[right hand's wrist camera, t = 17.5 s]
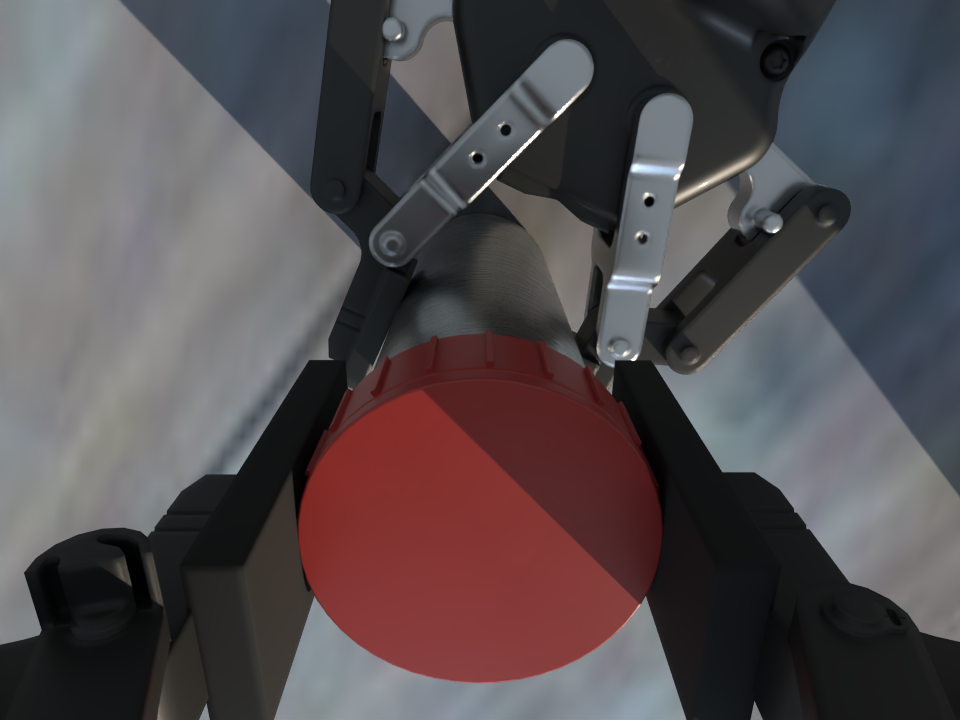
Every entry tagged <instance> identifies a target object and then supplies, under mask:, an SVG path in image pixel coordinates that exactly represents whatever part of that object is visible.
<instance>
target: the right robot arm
mask: <svg viewBox="0 0 960 720" xmlns="http://www.w3.org/2000/svg"><path fill="white" fill-rule="evenodd" d="M347 389H348V385H347V372H346V360H309V361H308V363H307V365H306V366H305V368H304V369H303V371H302V372H301V374H300V376H299V377H298V379H297V380H296V382H295V383H294V385H293V387H292V388H291V390H290V391H289V393H288V395H287V396H286V398H285V399H284V401H283V402H282V404H281V406H280V407H279V409H278V410H277V412H276V413H275V415H274V417H273V418H272V420H271V421H270V423H269V425H268V426H267V428H266V429H265V431H264V432H263V434H262V436H261V437H260V439H259V440H258V442H257V443H256V445H255V447H254V448H253V450H252V451H251V453H250V455H249V456H248V458H247V459H246V461H245V462H244V464H243V466H242V467H241V469H240V470H239V472H238V473H237V475H205V476H203V477H202V478H200V479H199V480H198V481H196V482H195V483H193V484H192V485H190V486H189V487H187V488H186V489H184V490H183V491H181V493H180V494H179V495H178V497H177V498H176V500H175V501H174V502H173V504H172V505H171V506H170V508H169V509H168V510H167V515H164V516H163V517H162V518H161V520H160V521H159V522H158V524H157V525H156V526H155V531H154V532H151V533H150V534H149V536H148V537H146V536H145V535H144V534H143V533H142V532H140V531H136V530H132V529H127V528H108V529H99V530H95V531H91V532H87V533H83V534H79V535H76V536H74V537H72V538H69V539H67V540H65V541H63V542H60V543H58V544H56V545H54V546H53V547H51V548H50V549H48V550H47V551H45V552H44V553H43V554H41V555H40V556H38V557H37V558H36V559H35V560H34V561H33V562H32V564H31V565H30V566H29V567H28V569H27V570H26V571H25V572H24V574H25V577H26V581H27V584H28V587H29V590H30V594H31V597H32V600H33V603H34V607H35V610H36V613H37V616H38V619H39V623H40V626H41V629H42V631H41V633H40V635H38V636H35V637H32V638H28V639H25V640H20V641H16V642H11V643H7V644H2V645H0V720H199V718H200V716H201V714H202V712H203V709H204V707H205V705H206V703H207V707H208V712H209V717H210V720H274V718H275V715H276V712H277V709H278V706H279V702H280V699H281V696H282V693H283V690H284V687H285V684H286V681H287V678H288V675H289V672H290V669H291V666H292V663H293V660H294V657H295V654H296V651H297V648H298V644H299V641H300V638H301V635H302V632H303V629H304V626H305V623H306V620H307V617H308V614H309V611H310V608H311V605H312V602H313V599H314V596H315V595H314V593H313V591H312V589H311V588H310V586H309V584H308V582H307V579H306V576H305V573H304V570H303V567H302V564H301V557H300V550H299V541H298V532H297V518H298V512H299V505H300V500H301V497H302V493H303V490H304V487H305V484H306V481H307V479H308V476H305V475H304V474H305V471H306V469H307V467H308V464H309V462H310V460H311V458H312V456H313V454H314V451H315V449H316V447H317V445H318V443H319V440H320V438H321V436H322V434H323V432H324V430H328V429H329V427H330V425H331V423H332V420H333V418H334V416H335V414H336V411H337V409H338V407H339V405H340V402H341V400H342V398H343V396H344V393H345V392H346V391H347ZM612 396H613V397H614V399H615V400H616V402H617V403H619V402H620V401H622V402H623V404H624V406H625V408H626V410H627V412H628V414H629V417H630V419H631V421H632V423H633V425H634V427H635V430H636V432H637V434H638V436H639V438H640V441H641V443H642V444H640V445H641V447H642V449H643V452H644V454H645V456H646V458H647V460H648V463H649V465H650V467H651V469H652V471H653V474H654V476H655V478H656V480H657V482H658V485H659V490H658V495H659V499H660V503H661V507H662V516H663V536H662V545H661V553H660V561H659V565H658V569H657V572H656V574H655V577H654V579H653V582H652V584H651V587H650V589H649V591H648V592H647V594H646V597H647V601H648V604H649V607H650V610H651V613H652V616H653V619H654V622H655V625H656V628H657V631H658V634H659V637H660V640H661V643H662V646H663V649H664V652H665V655H666V658H667V662H668V665H669V668H670V671H671V674H672V677H673V680H674V683H675V686H676V689H677V692H678V695H679V698H680V701H681V704H682V707H683V710H684V713H685V716H686V720H750V719H751V714H752V710H753V705H754V701H755V703H756V705H757V707H758V709H759V712H760V714H761V716H762V718H763V720H960V642H958V641H953V640H949V639H944V638H940V637H935V636H932V635H928V634H925V633H922V632H919V629H918V628H917V626H916V625H915V624H914V622H913V621H912V619H911V618H910V616H909V615H908V613H906V612H905V611H904V610H903V609H901V608H900V607H899V606H897V605H896V604H895V603H894V602H892V601H891V600H890V599H888V598H886V597H884V596H882V595H880V594H878V593H876V592H874V591H872V590H870V589H868V588H865V587H861V586H858V585H854V584H851V583H849V581H848V580H847V579H846V577H845V576H844V575H843V573H842V572H841V571H840V569H839V568H838V567H837V565H836V564H835V563H834V561H833V560H832V559H831V557H830V556H829V555H828V553H827V552H826V551H825V549H824V548H823V547H822V545H821V544H820V543H819V541H818V540H817V539H816V537H815V536H814V535H813V533H812V532H811V531H810V529H806V524H805V523H804V521H803V520H802V519H801V517H800V516H799V515H798V513H794V508H793V507H792V505H791V504H790V503H789V501H788V500H787V499H786V497H785V496H784V495H783V493H782V492H781V491H780V489H778V488H777V487H775V486H774V485H772V484H771V483H769V482H768V481H766V480H765V479H763V478H762V477H760V476H759V475H758V474H756V473H755V472H722V471H721V470H720V468H719V466H718V465H717V463H716V462H715V460H714V459H713V457H712V455H711V454H710V452H709V451H708V449H707V447H706V446H705V444H704V443H703V441H702V440H701V438H700V436H699V435H698V433H697V432H696V430H695V429H694V427H693V425H692V424H691V422H690V421H689V419H688V418H687V416H686V414H685V413H684V411H683V410H682V408H681V406H680V405H679V403H678V402H677V400H676V399H675V397H674V395H673V394H672V392H671V391H670V389H669V388H668V386H667V384H666V383H665V381H664V380H663V378H662V376H661V375H660V373H659V372H658V370H657V369H656V367H655V365H654V364H653V362H652V361H651V360H615V365H614V377H613V390H612ZM328 431H329V430H328Z"/></svg>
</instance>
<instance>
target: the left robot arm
mask: <svg viewBox="0 0 960 720" xmlns="http://www.w3.org/2000/svg"><path fill="white" fill-rule="evenodd" d="M835 2H836V0H331V5H330V14H329V23H328V32H327V41H326V50H325V59H324V68H323V77H322V86H321V95H320V104H319V113H318V122H317V131H316V140H315V149H314V158H313V167H312V176H311V187H310V188H311V194H312V197H313V199H314V201H315V202H316V204H317V205H318V206H319V207H320V208H322V209H323V210H325V211H327V212H329V213H334V214H335V215H337V216H338V217H339V218H340V219H341V220H342V221H343V222H344V223H345V224H346V225H347V226H348V227H349V228H350V229H351V230H352V231H353V232H354V233H355V234H356V236H357V237H358V239H359V242H360V245H361V250H362V255H361V261H360V264H359V266H358V269H357V271H356V274H355V276H354V278H353V281H352V283H351V286H350V288H349V291H348V293H347V295H346V298H345V300H344V303H343V305H342V308H341V310H340V312H339V315H338V317H337V320H336V322H335V325H334V327H333V329H332V332H331V334H330V337H329V339H328V341H329V358H331V359H334V360H346V372H347V385H348V387H349V388H352V389H354V388H355V387H356V386H357V385H358V384H359V383H360V382H361V381H362V380H363V379H364V377H366V376H367V375H368V374H369V373H370V371H371V369H372V366H373V364H374V362H375V360H376V357H377V355H378V353H379V351H380V348H381V346H382V344H383V342H384V339H385V337H386V335H387V333H388V330H389V328H390V326H391V323H392V321H393V318H394V316H395V314H396V311H397V309H398V308H399V306H400V303H401V301H402V299H403V297H404V294H405V292H406V290H407V288H408V285H409V283H410V281H411V278H412V276H413V273H414V270H415V267H416V265H417V262H418V260H416V259H414V258H413V257H414V256H415V255H416V254H417V253H418V252H419V251H420V250H421V249H422V248H423V247H424V246H425V245H426V244H427V243H428V242H429V241H430V240H431V239H432V238H433V237H434V236H435V235H436V234H437V233H438V232H439V231H440V230H441V229H442V228H443V227H444V226H445V225H446V224H447V223H448V222H449V221H450V220H451V219H452V218H453V217H454V216H455V215H456V214H458V213H459V212H461V211H462V210H463V209H464V208H466V207H467V206H468V205H469V204H470V203H471V202H472V201H473V200H474V199H475V198H476V197H477V196H478V195H479V194H480V193H481V192H482V191H483V190H484V189H485V188H486V187H487V186H488V185H489V184H490V183H491V182H492V181H493V180H494V179H495V178H496V177H497V180H498V181H500V182H502V183H504V184H506V185H508V186H510V187H512V188H515V189H517V190H519V191H521V192H523V193H525V194H530V195H536V196H541V197H547V198H552V199H556V200H558V201H559V202H561V203H562V204H563V205H564V206H565V207H566V208H567V209H568V210H570V211H571V212H572V213H573V214H574V215H575V216H576V217H577V218H579V219H580V220H581V221H583V222H585V223H587V224H589V225H591V226H593V227H594V231H593V238H592V247H591V256H592V266H591V274H590V280H589V287H588V294H587V301H586V308H585V314H584V322H583V323H582V325H581V327H580V329H579V331H578V332H577V333H575V332H573V331H572V333H573V336H574V338H575V341H576V344H577V346H578V349H579V351H580V354H581V357H582V359H583V362H584V365H585V367H586V366H587V365H588V366H589V367H591V368H592V370H593V373H594V375H595V378H597V379H598V380H599V381H600V382H601V383H602V384H603V385H604V387H605V388H606V389H607V390H609V388H610V387H611V385H612V383H613V377H614V365H615V360H651V361H652V362H653V364H656V365H668V366H670V368H671V369H672V370H673V371H675V372H677V373H679V374H685V375H688V374H693V373H696V372H698V371H700V370H701V369H703V368H704V367H705V366H706V365H707V364H708V363H709V362H710V361H711V360H712V359H713V358H714V357H715V356H716V355H717V354H718V353H719V352H720V351H721V350H722V349H723V348H724V347H725V346H726V345H727V344H728V343H729V342H730V341H731V340H732V339H733V338H734V337H735V336H736V335H737V334H738V333H739V332H740V331H741V330H742V329H743V328H744V327H745V326H746V325H747V324H748V323H749V322H750V321H751V320H752V319H753V318H754V317H755V316H756V315H757V314H758V313H759V312H760V311H761V310H762V309H763V308H764V307H765V306H766V305H767V304H768V303H769V302H770V301H771V300H772V299H773V298H774V297H775V296H776V295H777V294H778V293H779V292H780V291H781V290H782V289H783V288H784V287H785V286H786V285H787V284H788V283H789V282H790V281H791V280H792V279H793V278H794V277H795V276H796V275H797V273H798V272H799V271H800V270H801V269H802V268H803V267H804V266H805V265H806V264H807V263H808V262H809V261H810V260H811V259H812V258H813V257H814V256H815V255H816V254H817V253H818V252H819V251H820V250H821V249H822V248H823V247H824V246H825V245H826V244H827V243H828V242H829V241H830V240H831V239H832V238H833V237H834V236H835V235H836V234H837V233H838V232H839V231H840V230H841V229H842V228H843V227H844V226H845V224H846V223H847V221H848V219H849V216H850V211H851V206H850V202H849V199H848V198H847V196H846V195H845V194H844V193H842V192H841V191H839V190H836V189H832V188H829V187H827V186H825V185H823V184H819V183H815V182H814V181H813V180H812V179H811V178H809V177H808V176H807V175H806V174H805V173H804V172H803V171H802V170H801V169H800V168H799V167H798V166H797V165H796V164H795V163H794V162H793V161H792V160H791V159H790V158H789V157H788V156H787V155H785V154H784V153H783V152H782V151H781V150H780V149H779V148H778V147H777V146H776V145H775V144H774V143H773V140H774V137H775V134H776V130H777V121H778V109H779V103H780V99H781V94H782V91H783V88H784V85H785V83H786V81H787V79H788V77H789V75H790V73H791V72H792V70H793V69H794V67H795V66H796V64H797V63H798V62H799V60H800V59H801V57H802V56H803V54H804V53H805V51H806V50H807V48H808V47H809V45H810V44H811V42H812V41H813V39H814V37H815V36H816V34H817V32H818V31H819V29H820V27H821V26H822V24H823V22H824V20H825V19H826V17H827V15H828V14H829V12H830V10H831V9H832V7H833V5H834V4H835ZM444 21H451V22H453V23H454V28H455V34H456V39H457V45H458V50H459V55H460V61H461V66H462V72H463V77H464V83H465V88H466V94H467V99H468V104H469V110H470V115H471V121H472V122H471V123H470V124H469V125H468V127H467V128H466V129H465V130H464V131H463V132H462V133H461V134H460V135H459V136H458V137H457V138H456V139H455V140H454V141H453V142H452V143H451V144H450V145H449V146H448V147H447V148H446V150H445V151H444V152H443V153H442V154H441V155H440V156H439V157H438V158H437V159H436V160H435V161H434V162H433V163H432V164H431V166H430V167H429V168H428V169H427V170H426V171H425V172H424V173H423V174H422V175H421V176H420V177H419V178H418V179H417V180H416V181H415V182H414V184H413V185H412V186H411V187H410V188H409V189H408V190H407V191H406V192H405V193H404V194H403V195H402V196H401V197H400V198H399V197H398V196H397V195H396V194H395V193H394V192H393V191H392V190H391V189H390V188H389V187H388V186H387V185H386V184H385V183H384V182H383V181H382V180H381V179H380V178H379V177H378V176H377V175H376V174H375V171H376V164H377V157H378V150H379V143H380V137H381V130H382V123H383V116H384V109H385V102H386V95H387V88H388V82H389V75H390V68H391V61H392V60H395V61H406V60H409V59H411V58H413V57H414V56H415V55H416V54H417V53H418V52H419V51H420V49H421V47H422V44H423V41H424V38H425V36H426V34H427V32H428V31H429V30H430V29H431V28H432V27H433V26H434V25H436V24H437V23H440V22H444ZM737 175H738V176H739V180H740V186H739V191H738V193H737V195H736V197H735V199H734V200H733V201H732V203H731V205H730V207H729V210H728V222H729V225H730V227H731V228H730V229H729V230H728V232H727V233H726V234H725V235H724V236H723V237H722V238H721V239H720V240H719V241H718V242H717V243H716V244H715V245H714V247H713V248H712V249H711V250H710V251H709V252H708V253H707V254H706V255H705V256H704V257H703V258H702V259H701V260H700V262H699V263H698V264H697V265H696V266H695V267H694V268H693V269H692V270H691V271H690V272H689V273H688V274H687V275H686V277H685V278H684V279H683V280H682V281H681V282H680V283H679V284H678V285H677V286H676V287H675V288H674V289H673V290H672V292H671V293H670V294H669V295H668V296H667V297H666V298H665V299H664V300H663V301H662V302H661V303H660V304H659V305H658V307H657V308H649V306H650V301H651V295H652V291H653V289H654V287H655V286H657V284H658V282H659V280H660V277H661V272H662V267H663V262H664V256H665V251H666V246H667V240H668V235H669V230H670V224H671V219H672V214H673V209H675V208H677V207H678V206H680V205H682V204H684V203H686V202H688V201H690V200H692V199H694V198H695V197H697V196H699V195H701V194H703V193H705V192H707V191H709V190H711V189H712V188H714V187H716V186H718V185H720V184H722V183H724V182H726V181H728V180H729V179H731V178H733V177H735V176H737ZM641 234H643V238H642V239H641V237H640V235H641Z"/></svg>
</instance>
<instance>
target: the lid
mask: <svg viewBox="0 0 960 720" xmlns="http://www.w3.org/2000/svg"><path fill="white" fill-rule="evenodd" d="M328 430H329V431H328ZM328 430H324V432H323V434H322V436H321V438H320V440H319V443H318V445H317V447H316V449H315V451H314V454H313V456H312V458H311V460H310V462H309V464H308V467H307V469H306V471H305V474H304V475H305V476H308V479H307V481H306V484H305V487H304V490H303V493H302V497H301V500H300V505H299V512H298V518H297V532H298V541H299V550H300V557H301V564H302V567H303V570H304V573H305V576H306V579H307V582H308V584H309V586H310V588H311V589H312V591H313V593H314V595H315V597H316V599H317V601H318V602H319V604H320V605H321V606H322V608H323V609H324V611H325V612H326V614H327V615H328V616H329V617H330V618H331V619H332V621H333V622H334V623H335V624H336V625H337V626H338V627H339V628H340V629H341V630H342V631H343V632H344V633H345V634H346V635H347V636H349V637H350V638H351V639H352V640H353V641H354V642H356V643H357V644H358V645H360V646H361V647H363V648H364V649H366V650H367V651H369V652H370V653H372V654H373V655H375V656H377V657H379V658H381V659H383V660H385V661H387V662H388V663H390V664H392V665H395V666H397V667H400V668H402V669H405V670H408V671H410V672H413V673H416V674H420V675H424V676H427V677H431V678H436V679H442V680H448V681H454V682H467V683H497V682H505V681H513V680H520V679H524V678H529V677H533V676H537V675H541V674H544V673H547V672H550V671H553V670H556V669H558V668H561V667H563V666H565V665H568V664H570V663H572V662H574V661H576V660H578V659H580V658H582V657H583V656H585V655H587V654H588V653H590V652H592V651H593V650H595V649H597V648H598V647H599V646H601V645H602V644H603V643H604V642H606V641H607V640H608V639H610V638H611V637H612V636H613V635H614V634H615V633H616V632H617V631H618V630H619V629H620V628H621V627H622V626H623V625H624V624H625V623H626V622H627V621H628V620H629V619H630V618H631V616H632V615H633V614H634V613H635V611H636V610H637V609H638V607H639V606H640V605H641V603H642V601H643V599H644V598H645V596H646V594H647V592H648V591H649V589H650V587H651V584H652V582H653V579H654V577H655V574H656V572H657V569H658V565H659V561H660V553H661V545H662V536H663V516H662V507H661V503H660V499H659V495H658V490H659V485H658V482H657V480H656V478H655V476H654V474H653V471H652V469H651V467H650V465H649V463H648V460H647V458H646V456H645V454H644V452H643V449H642V447H641V445H640V444H642V443H641V441H640V438H639V436H638V434H637V432H636V430H635V427H634V425H633V423H632V421H631V419H630V417H629V414H628V412H627V410H626V408H625V406H624V404H623V402H622V401H620V402H619V403H617V402H616V400H615V399H614V397H613V396H612V395H611V394H610V393H609V391H608V390H607V389H606V388H605V387H604V385H603V384H602V383H601V382H600V381H599V380H598V379H597V378H595V375H594V373H593V370H592V368H591V367H589V366H588V365H587V366H586V367H585V368H584V367H582V366H581V365H579V364H578V363H576V362H575V361H573V360H572V359H571V358H569V357H567V356H565V355H563V354H561V353H559V352H557V351H555V350H553V349H551V348H549V347H547V344H546V342H544V341H541V340H540V342H539V344H538V343H535V342H532V341H529V340H525V339H520V338H515V337H511V336H505V335H493V331H491V330H486V334H466V335H457V336H451V337H445V338H439V339H438V337H437V335H436V336H432V337H431V339H430V341H429V342H426V343H422V344H419V345H417V346H414V347H412V348H410V349H407V350H405V351H403V352H401V353H398V354H397V355H395V356H394V357H392V358H390V359H389V357H388V356H385V357H384V358H382V360H381V363H380V365H379V366H378V367H377V368H376V369H374V370H373V371H372V372H371V373H369V374H368V375H367V376H366V377H364V379H363V380H362V381H361V382H360V383H359V384H358V385H357V386H356V387H355V388H354V389H353V390H352V391H351V390H350V389H347V391H346V392H345V393H344V396H343V398H342V400H341V402H340V405H339V407H338V409H337V411H336V414H335V416H334V418H333V420H332V423H331V425H330V427H329V429H328Z"/></svg>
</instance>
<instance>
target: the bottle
mask: <svg viewBox="0 0 960 720" xmlns="http://www.w3.org/2000/svg"><path fill="white" fill-rule="evenodd" d="M416 260H418V262H417V265H416V267H415V270H414V273H413V276H412V278H411V281H410V283H409V285H408V288H407V290H406V292H405V294H404V297H403V299H402V301H401V303H400V306H399V308H398V309H397V311H396V314H395V316H394V318H393V321H392V323H391V326H390V329H389V331H388V334H387V337H386V339H385V342H384V344H383V347H382V350H381V352H380V355H379V358H378V360H377V363H376V365H375V368H374V369H376V368H377V367H378V366H379V365H380V363H381V360H382V358H384V357H385V356H388V357H389V359H390V358H392V357H394V356H395V355H397V354H398V353H401V352H403V351H405V350H407V349H410V348H412V347H414V346H417V345H419V344H422V343H426V342H429V341H430V339H431V337H432V336H436V335H437V337H438V339H439V338H445V337H451V336H457V335H466V334H486V330H491V331H493V335H505V336H511V337H515V338H520V339H525V340H529V341H532V342H535V343H538V344H539V342H540V340H541V341H544V342H546V344H547V347H549V348H551V349H553V350H555V351H557V352H559V353H561V354H563V355H565V356H567V357H569V358H571V359H572V360H573V361H575V362H576V363H578V364H579V365H581V366H582V367H584V368H585V365H584V362H583V359H582V357H581V354H580V351H579V349H578V346H577V344H576V341H575V338H574V336H573V333H572V330H571V328H570V325H569V323H568V320H567V317H566V315H565V312H564V309H563V307H562V304H561V301H560V299H559V296H558V294H557V291H556V288H555V286H554V283H553V280H552V278H551V275H550V273H549V270H548V267H547V265H546V262H545V259H544V257H543V254H542V252H541V250H540V248H539V246H538V245H537V243H536V242H535V240H534V239H533V238H532V237H531V235H530V234H529V233H528V232H527V231H526V230H524V229H523V228H522V227H521V226H519V225H518V224H516V223H515V222H513V221H511V220H509V219H507V218H504V217H501V216H498V215H493V214H487V213H475V214H467V215H463V216H459V217H456V218H454V219H451V220H450V221H449V222H448V223H447V224H446V225H445V226H444V227H443V228H442V229H441V230H440V231H439V232H438V233H437V234H436V235H435V236H434V237H433V238H432V239H431V240H430V241H429V242H428V243H427V244H426V245H425V246H424V247H423V248H422V249H421V250H420V251H419V253H418V255H417V258H416Z"/></svg>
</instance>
